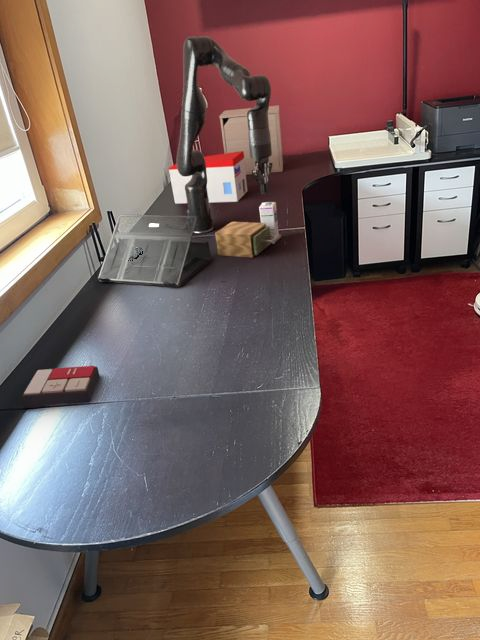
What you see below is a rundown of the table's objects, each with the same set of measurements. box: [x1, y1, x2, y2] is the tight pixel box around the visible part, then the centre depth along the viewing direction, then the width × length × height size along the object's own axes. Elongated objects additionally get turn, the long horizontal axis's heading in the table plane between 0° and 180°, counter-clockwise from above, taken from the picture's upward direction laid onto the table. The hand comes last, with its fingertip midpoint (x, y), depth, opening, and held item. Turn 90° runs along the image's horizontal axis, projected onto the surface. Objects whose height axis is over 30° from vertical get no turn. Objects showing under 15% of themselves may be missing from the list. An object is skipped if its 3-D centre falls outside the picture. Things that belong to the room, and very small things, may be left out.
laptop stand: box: [97, 214, 212, 288], centre depth 182 cm, size 33×28×18 cm
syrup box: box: [258, 201, 280, 240], centre depth 201 cm, size 6×6×14 cm
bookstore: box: [168, 151, 248, 205], centre depth 268 cm, size 21×35×21 cm, turn 77°
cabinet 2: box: [214, 221, 266, 259], centre depth 195 cm, size 15×14×9 cm
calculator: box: [21, 365, 100, 409], centre depth 122 cm, size 11×4×15 cm
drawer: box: [251, 226, 282, 256], centre depth 193 cm, size 20×13×7 cm, turn 65°
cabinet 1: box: [218, 104, 284, 176], centre depth 317 cm, size 35×29×34 cm
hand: (264, 193), depth 181 cm, fingers closed
